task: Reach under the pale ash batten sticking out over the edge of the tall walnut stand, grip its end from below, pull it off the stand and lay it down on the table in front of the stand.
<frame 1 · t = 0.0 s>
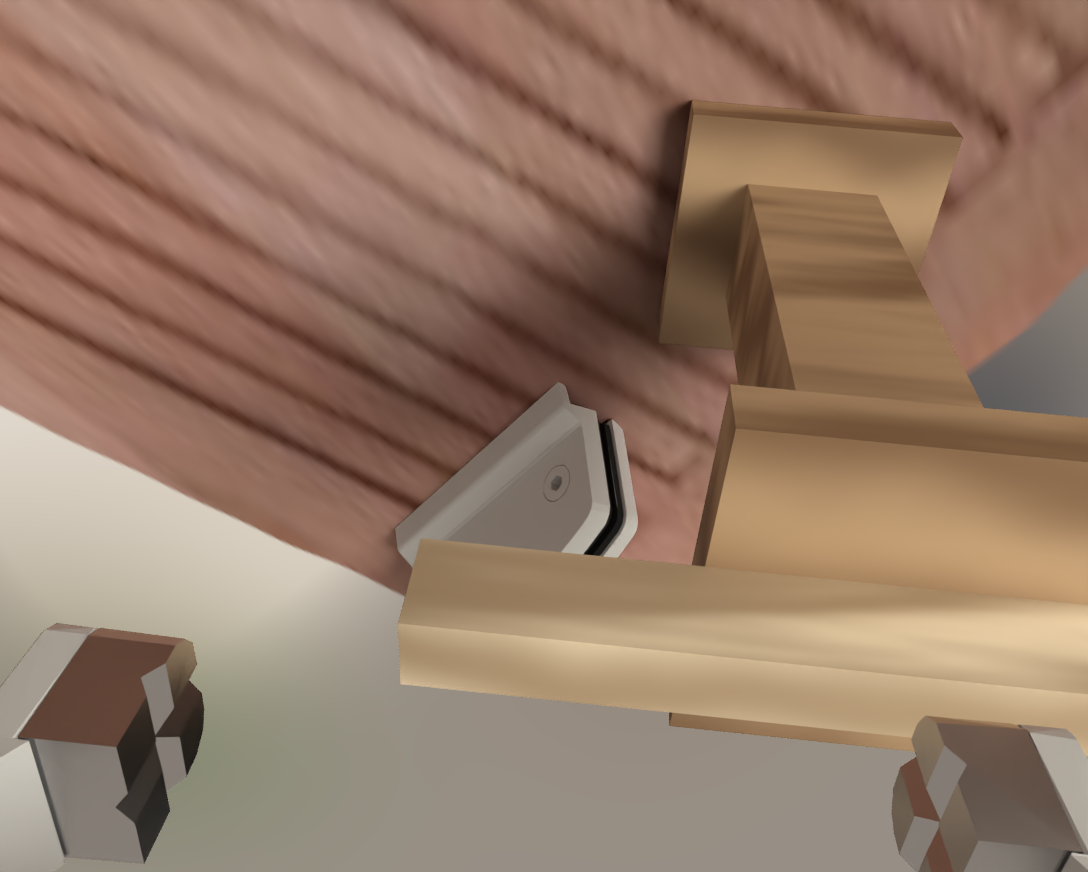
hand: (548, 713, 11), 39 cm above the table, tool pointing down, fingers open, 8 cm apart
grey arched block: (519, 490, 60), on the table
batten: (750, 601, 27), point 26 cm above the table, touching stand
stand: (793, 231, 48), on the table
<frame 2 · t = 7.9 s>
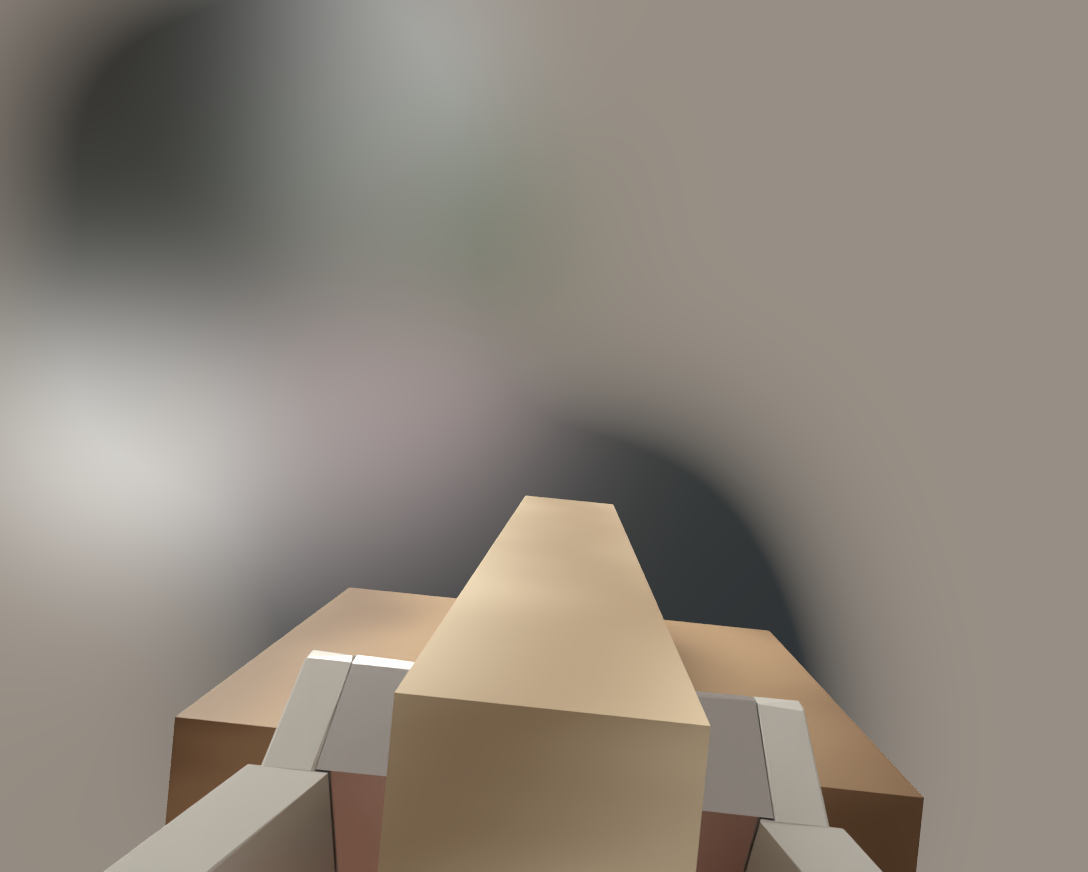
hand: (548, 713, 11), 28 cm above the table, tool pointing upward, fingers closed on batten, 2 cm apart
batten: (547, 726, 17), point 26 cm above the table, touching gripper, stand
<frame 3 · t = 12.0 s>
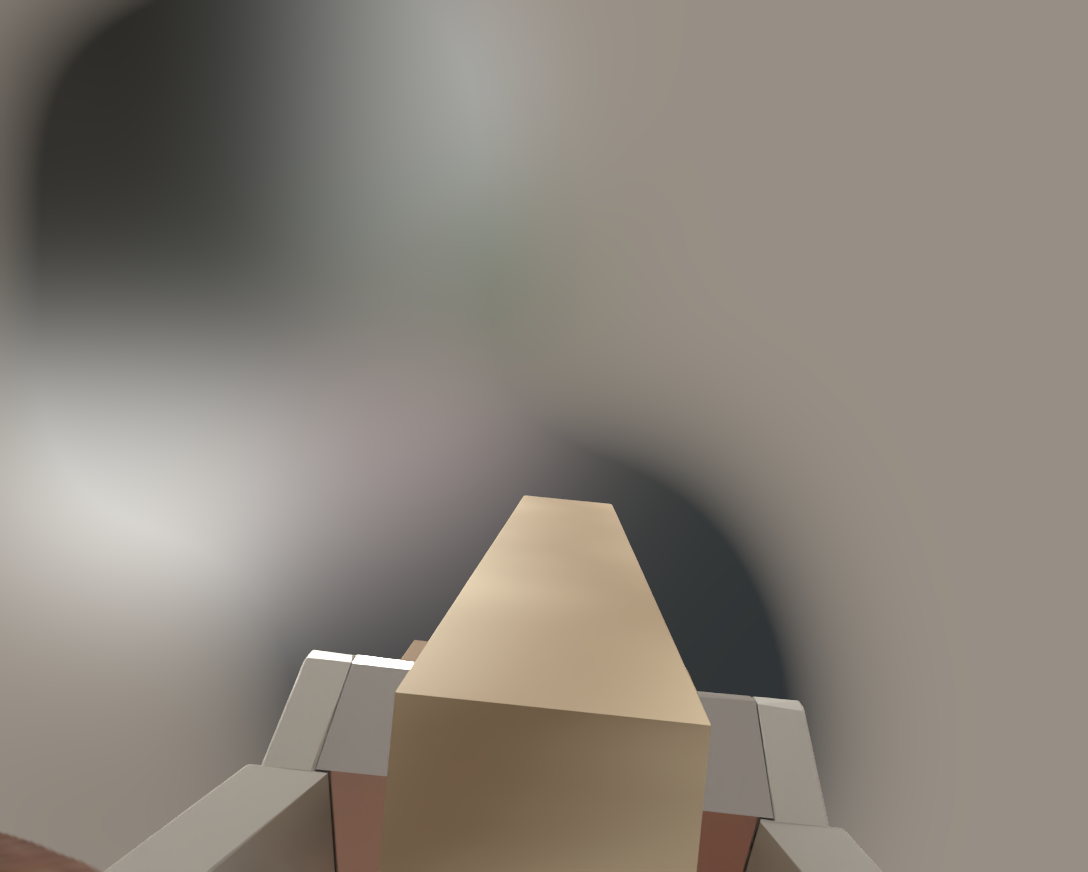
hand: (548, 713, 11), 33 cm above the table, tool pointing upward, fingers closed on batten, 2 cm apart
batten: (546, 726, 17), point 31 cm above the table, touching gripper
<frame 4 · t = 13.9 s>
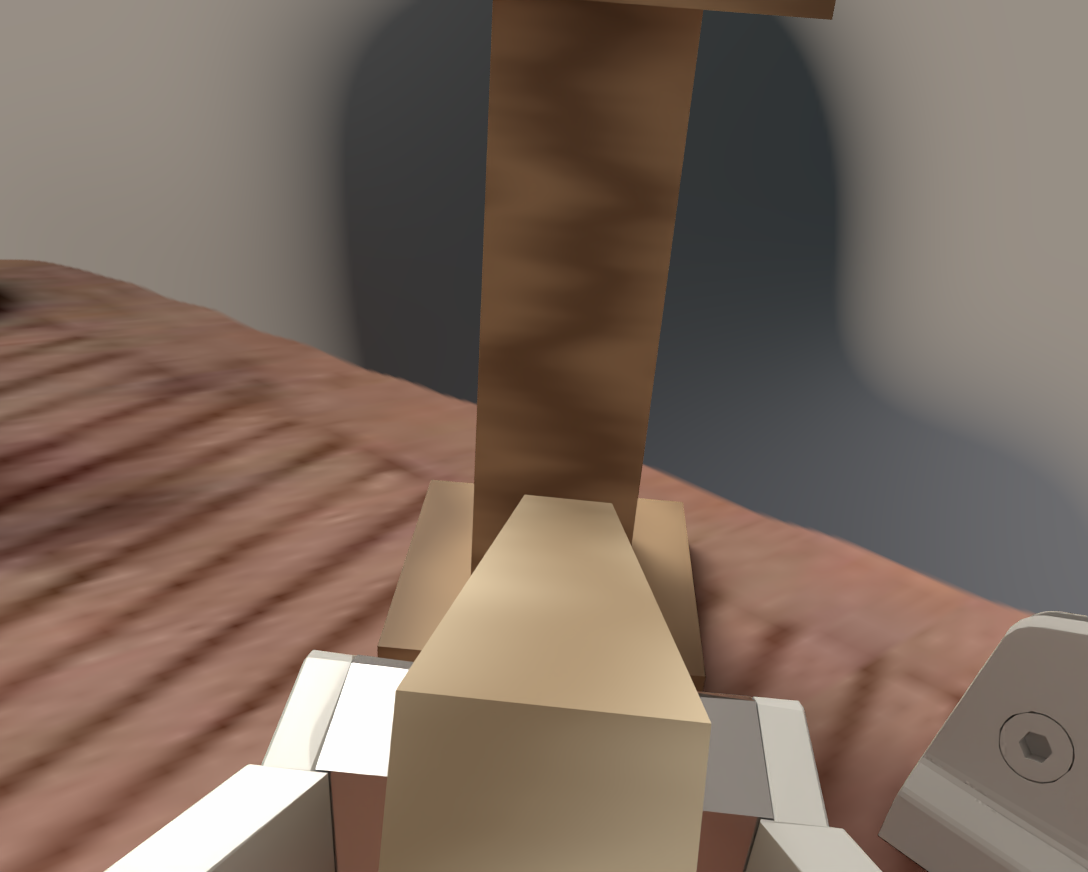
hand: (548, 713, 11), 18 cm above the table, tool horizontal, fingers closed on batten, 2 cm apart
batten: (547, 725, 17), point 13 cm above the table, tilted 27°, touching gripper
stand: (546, 603, 41), on the table
when the fingers open (10 cm above the table, at t = 15.9 s): batten drops 6 cm, on the table.
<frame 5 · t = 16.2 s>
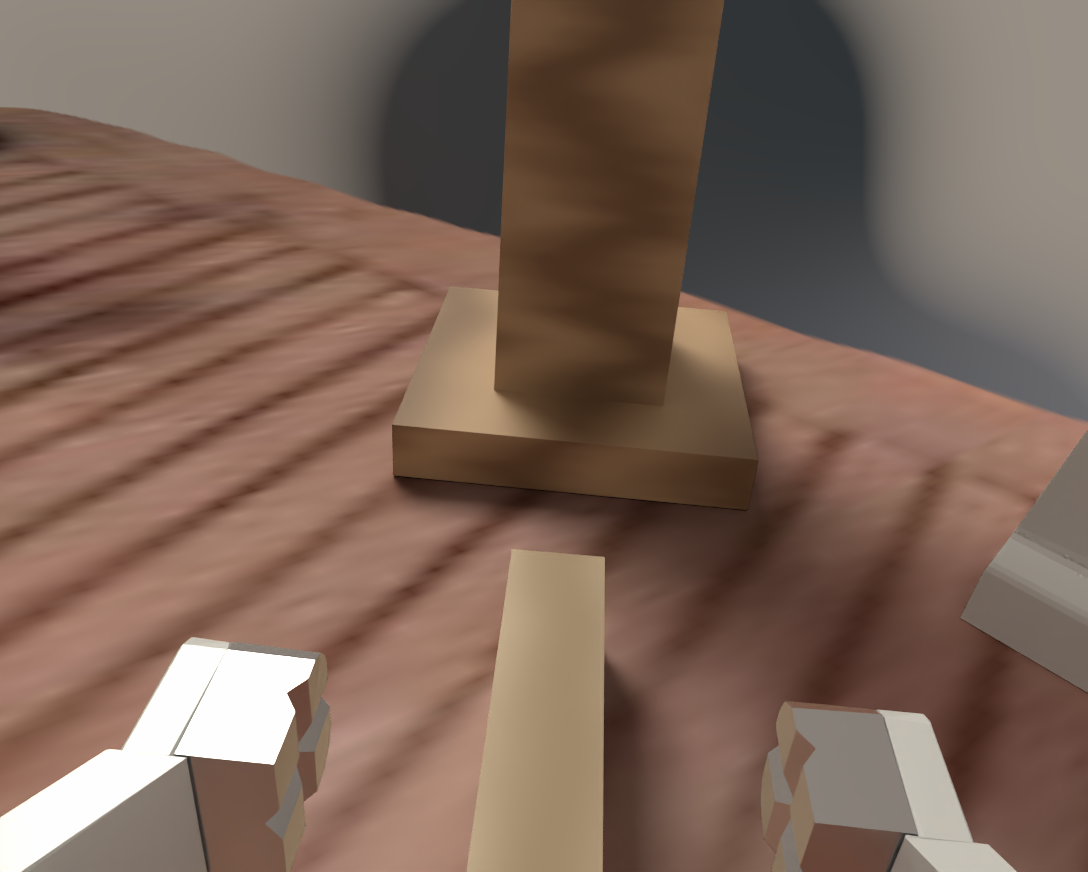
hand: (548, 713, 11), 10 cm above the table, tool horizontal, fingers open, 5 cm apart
stand: (577, 406, 37), on the table
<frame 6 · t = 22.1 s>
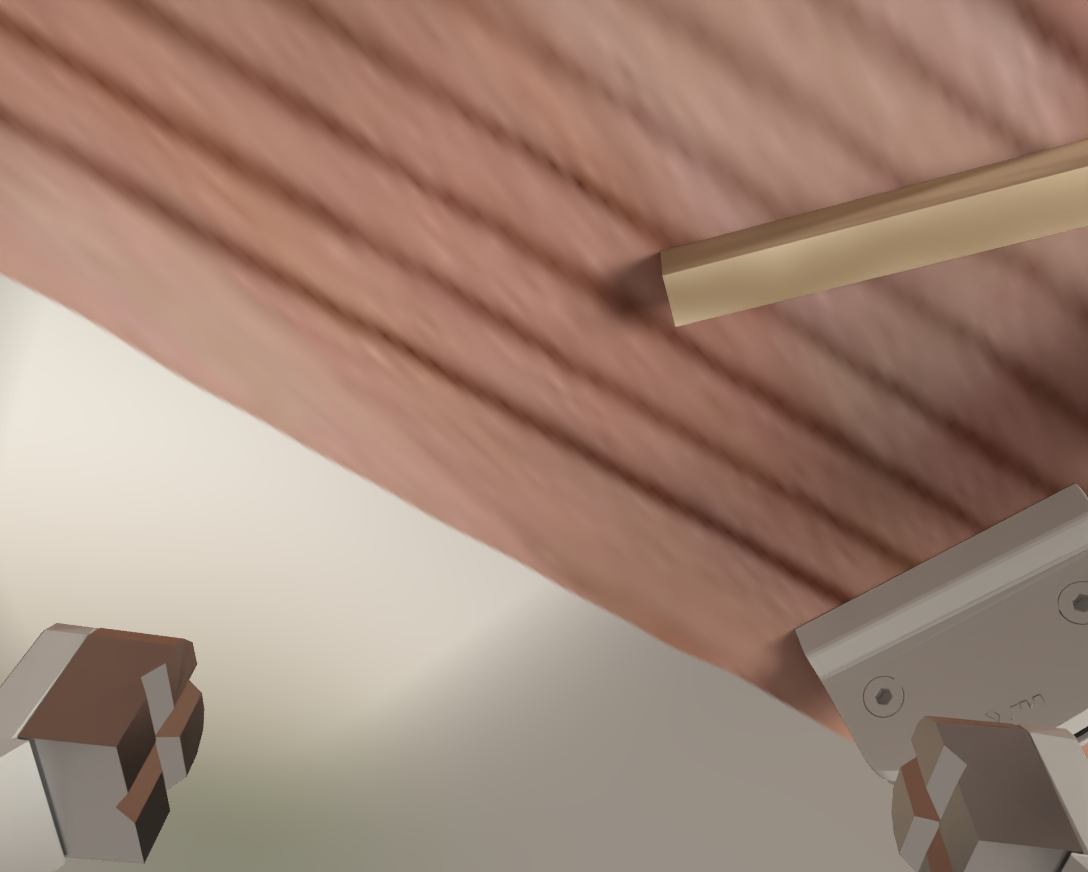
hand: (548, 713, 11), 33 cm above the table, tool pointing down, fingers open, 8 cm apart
grey arched block: (960, 601, 51), on the table
batten: (883, 217, 41), on the table
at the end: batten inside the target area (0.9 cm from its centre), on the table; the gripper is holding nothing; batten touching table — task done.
